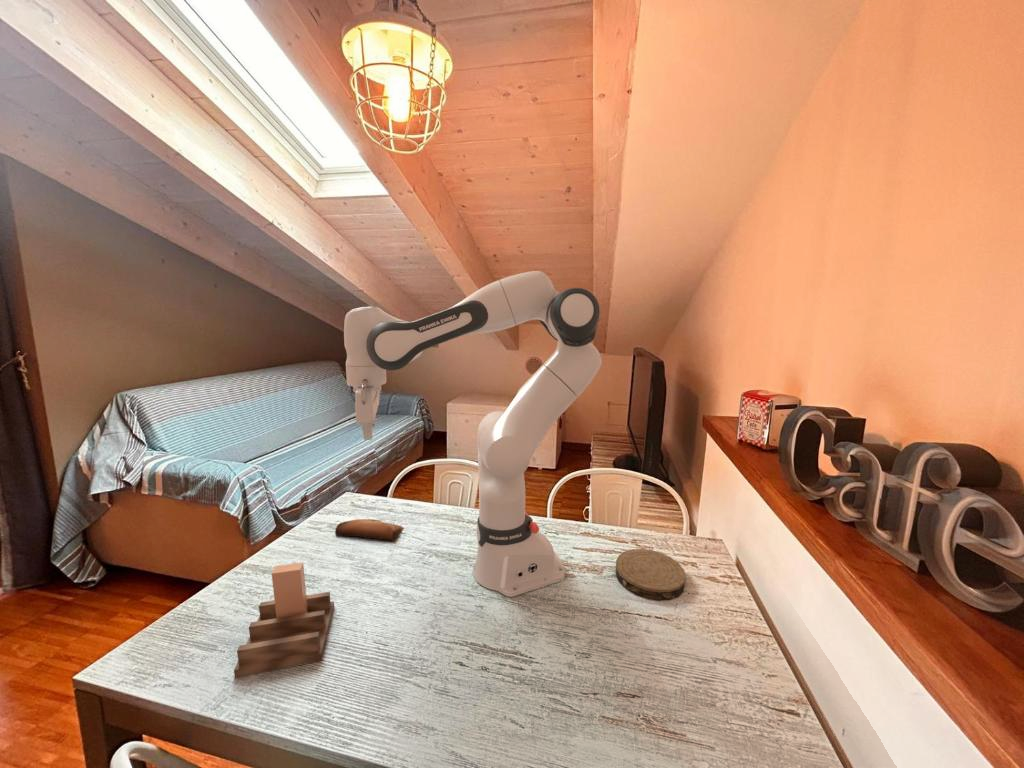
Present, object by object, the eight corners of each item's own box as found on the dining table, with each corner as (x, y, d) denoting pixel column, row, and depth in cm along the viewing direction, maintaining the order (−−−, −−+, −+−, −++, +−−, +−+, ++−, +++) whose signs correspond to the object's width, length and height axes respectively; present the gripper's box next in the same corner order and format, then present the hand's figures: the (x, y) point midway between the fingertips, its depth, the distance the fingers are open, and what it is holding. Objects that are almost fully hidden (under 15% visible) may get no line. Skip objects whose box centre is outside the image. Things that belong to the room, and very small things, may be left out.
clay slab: (308, 615, 83) (303, 562, 81) (305, 623, 81) (300, 569, 79) (281, 619, 82) (275, 566, 80) (277, 628, 80) (271, 573, 78)
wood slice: (644, 552, 109) (645, 542, 108) (699, 586, 96) (700, 574, 95) (601, 572, 100) (602, 561, 100) (654, 612, 87) (655, 599, 87)
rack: (334, 607, 88) (332, 588, 87) (321, 660, 74) (319, 639, 73) (261, 619, 84) (259, 600, 83) (234, 677, 71) (231, 655, 70)
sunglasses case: (406, 526, 120) (400, 514, 116) (398, 549, 115) (391, 537, 111) (351, 521, 124) (343, 508, 119) (340, 542, 118) (331, 531, 114)
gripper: (377, 383, 86) (381, 445, 89) (382, 370, 106) (385, 421, 108) (346, 384, 85) (350, 448, 87) (357, 371, 104) (360, 422, 107)
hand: (369, 433), depth 98 cm, fingers open, 8 cm apart
